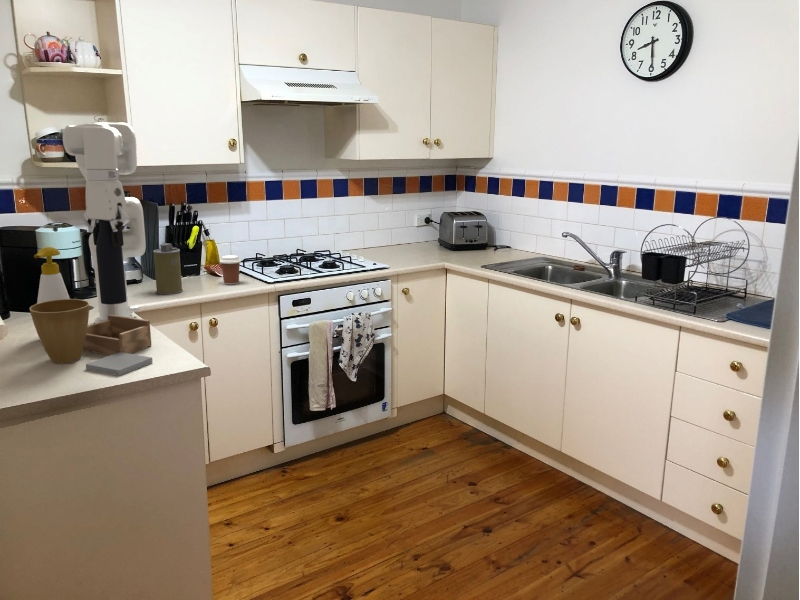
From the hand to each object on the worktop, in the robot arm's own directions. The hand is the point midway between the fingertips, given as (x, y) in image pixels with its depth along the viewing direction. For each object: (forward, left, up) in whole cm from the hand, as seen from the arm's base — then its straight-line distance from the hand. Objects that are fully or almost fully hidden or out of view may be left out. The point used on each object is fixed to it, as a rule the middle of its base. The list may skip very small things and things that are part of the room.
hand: (108, 244), depth 174 cm
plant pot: (+3, -18, -34) cm, 39 cm away
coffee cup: (-104, -43, -34) cm, 118 cm away
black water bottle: (0, 0, -16) cm, 16 cm away
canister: (-79, -55, -34) cm, 102 cm away
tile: (0, 0, -34) cm, 34 cm away
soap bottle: (-10, -37, -34) cm, 51 cm away
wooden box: (-12, -14, -34) cm, 38 cm away
